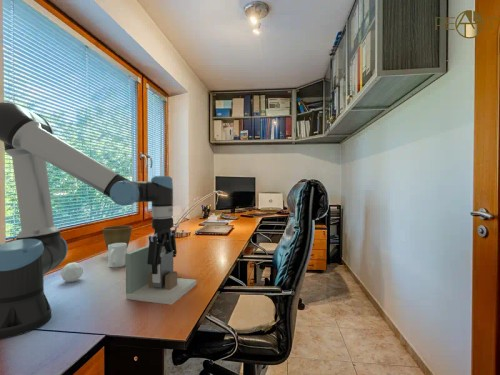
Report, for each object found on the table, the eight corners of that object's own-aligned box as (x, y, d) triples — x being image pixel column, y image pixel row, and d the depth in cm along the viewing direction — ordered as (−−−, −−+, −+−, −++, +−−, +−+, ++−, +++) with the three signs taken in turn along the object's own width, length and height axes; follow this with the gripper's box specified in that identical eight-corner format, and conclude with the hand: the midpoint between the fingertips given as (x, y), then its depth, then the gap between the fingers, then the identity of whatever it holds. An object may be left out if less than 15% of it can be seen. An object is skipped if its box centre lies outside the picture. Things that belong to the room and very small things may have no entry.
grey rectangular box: (161, 287, 95) (161, 256, 94) (152, 286, 96) (152, 256, 95) (173, 279, 102) (173, 251, 102) (165, 278, 103) (165, 250, 103)
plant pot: (131, 257, 145) (131, 228, 145) (100, 260, 140) (100, 230, 140) (132, 251, 159) (132, 224, 159) (104, 253, 154) (104, 226, 154)
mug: (119, 270, 124) (119, 248, 124) (101, 270, 123) (100, 248, 123) (129, 262, 136) (129, 242, 136) (113, 262, 135) (112, 242, 135)
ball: (68, 287, 111) (64, 269, 114) (88, 278, 113) (84, 261, 116) (58, 284, 104) (54, 265, 107) (80, 274, 106) (76, 256, 110)
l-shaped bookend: (171, 304, 88) (171, 256, 88) (125, 298, 93) (125, 253, 92) (196, 284, 105) (195, 244, 105) (156, 280, 110) (156, 242, 110)
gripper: (154, 221, 88) (155, 289, 88) (185, 214, 108) (186, 270, 108) (135, 221, 89) (135, 287, 90) (169, 214, 110) (169, 268, 110)
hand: (163, 278), depth 99 cm, fingers closed on grey rectangular box, 8 cm apart
